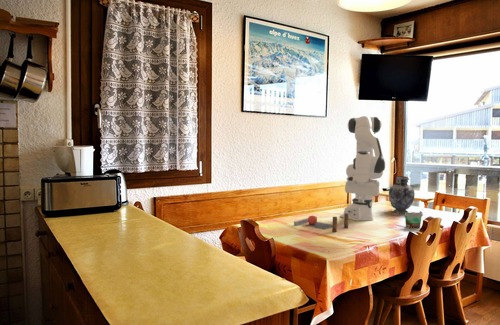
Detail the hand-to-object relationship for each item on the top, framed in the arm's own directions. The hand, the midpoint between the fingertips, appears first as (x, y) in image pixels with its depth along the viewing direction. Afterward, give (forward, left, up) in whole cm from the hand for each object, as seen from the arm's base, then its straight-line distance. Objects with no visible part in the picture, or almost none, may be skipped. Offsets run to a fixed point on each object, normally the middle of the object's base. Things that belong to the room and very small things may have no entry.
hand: (361, 201), depth 222 cm
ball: (-32, -2, -16) cm, 36 cm away
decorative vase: (-8, +86, -19) cm, 89 cm away
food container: (+18, +41, -19) cm, 49 cm away
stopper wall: (-39, 0, -19) cm, 43 cm away
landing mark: (-27, 0, -19) cm, 33 cm away
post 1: (-13, -7, -19) cm, 24 cm away
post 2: (-13, +7, -19) cm, 24 cm away
